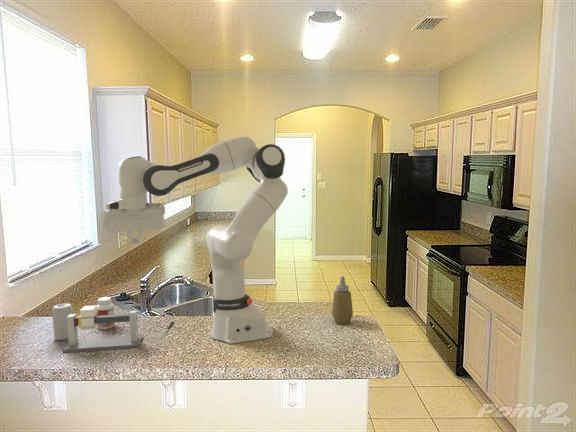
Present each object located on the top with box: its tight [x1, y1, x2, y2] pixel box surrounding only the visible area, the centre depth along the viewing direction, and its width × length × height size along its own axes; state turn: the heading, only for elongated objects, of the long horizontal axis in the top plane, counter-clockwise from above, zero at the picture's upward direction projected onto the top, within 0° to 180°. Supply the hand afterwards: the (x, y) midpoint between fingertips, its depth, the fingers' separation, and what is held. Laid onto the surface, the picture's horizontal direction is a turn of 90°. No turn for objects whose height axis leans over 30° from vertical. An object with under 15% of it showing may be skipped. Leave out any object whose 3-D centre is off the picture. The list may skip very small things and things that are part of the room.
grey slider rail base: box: [62, 309, 144, 353], centre depth 149 cm, size 24×9×11 cm, turn 99°
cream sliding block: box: [79, 305, 98, 331], centre depth 148 cm, size 4×5×7 cm
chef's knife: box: [155, 321, 175, 342], centre depth 160 cm, size 19×1×3 cm
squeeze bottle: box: [331, 275, 354, 325], centre depth 167 cm, size 8×8×18 cm
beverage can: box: [51, 302, 74, 341], centre depth 155 cm, size 6×6×12 cm
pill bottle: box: [96, 296, 115, 330], centre depth 166 cm, size 6×6×11 cm
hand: (136, 242), depth 153 cm, fingers closed
